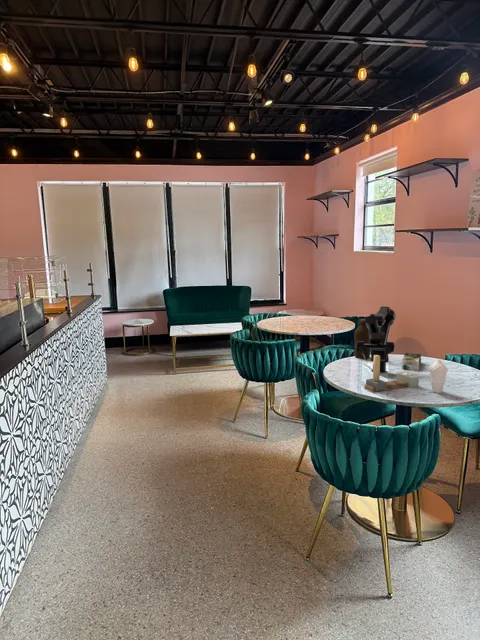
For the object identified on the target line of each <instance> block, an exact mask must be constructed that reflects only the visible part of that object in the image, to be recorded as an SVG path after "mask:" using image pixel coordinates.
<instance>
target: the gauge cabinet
mask: <svg viewBox="0 0 480 640" xmlns="http://www.w3.org/2000/svg"><path fill="white" fill-rule="evenodd" d="M396 380H402V381H405V382H407V383H408V388H417V387H419V382H420V377H419V376H417V375H414V374H413V373H411V372H406V371H401V372H397V373H396Z"/></svg>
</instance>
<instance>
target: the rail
mask: <svg viewBox="0 0 480 640" xmlns="http://www.w3.org/2000/svg"><path fill="white" fill-rule="evenodd" d="M386 382H387V389H385V390H378V391H376V390H375V387H373V386H371V385H369V384H367V385H366V384H364V390H367V391H369V392H371V393H374V392H376V393H377V392H382V391H387V390H388V391H389V390H394V389H400V388H401V389H402V388H406V387H408V383H407V382H405V381H402V380H397V379H395V380H387V381H386ZM408 388H409V387H408Z"/></svg>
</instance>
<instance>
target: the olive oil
mask: <svg viewBox="0 0 480 640" xmlns="http://www.w3.org/2000/svg"><path fill="white" fill-rule="evenodd" d="M365 319H366V318H361V319H360V320H359V322H360V323H359V324H360V325H359V326H358V327H357V328H356V329H355V331H354V333H353V334H354V338H353V339H354V358H356V359H359V360H361V359H362V360H365V358H364V356H363V355H362V353H361V352H359V351H356V342H357V341H364V344H369V329H368V327H367V324H366V321H365ZM365 351H366V357H367V360H368V359H371V348H365Z"/></svg>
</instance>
